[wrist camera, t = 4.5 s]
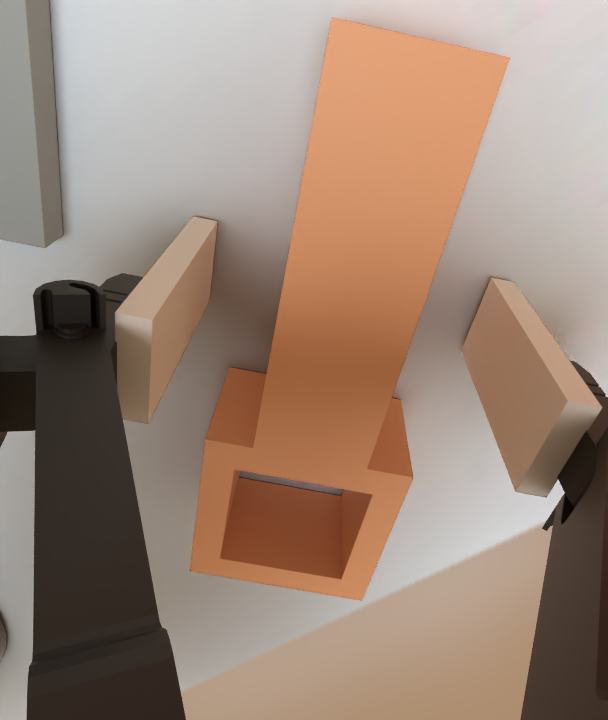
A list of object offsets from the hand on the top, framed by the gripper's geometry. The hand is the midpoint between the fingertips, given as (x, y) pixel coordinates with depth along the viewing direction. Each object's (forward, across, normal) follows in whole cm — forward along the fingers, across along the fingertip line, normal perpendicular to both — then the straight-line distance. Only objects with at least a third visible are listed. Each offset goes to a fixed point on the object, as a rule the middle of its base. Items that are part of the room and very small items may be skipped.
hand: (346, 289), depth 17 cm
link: (0, 0, +2) cm, 2 cm away
